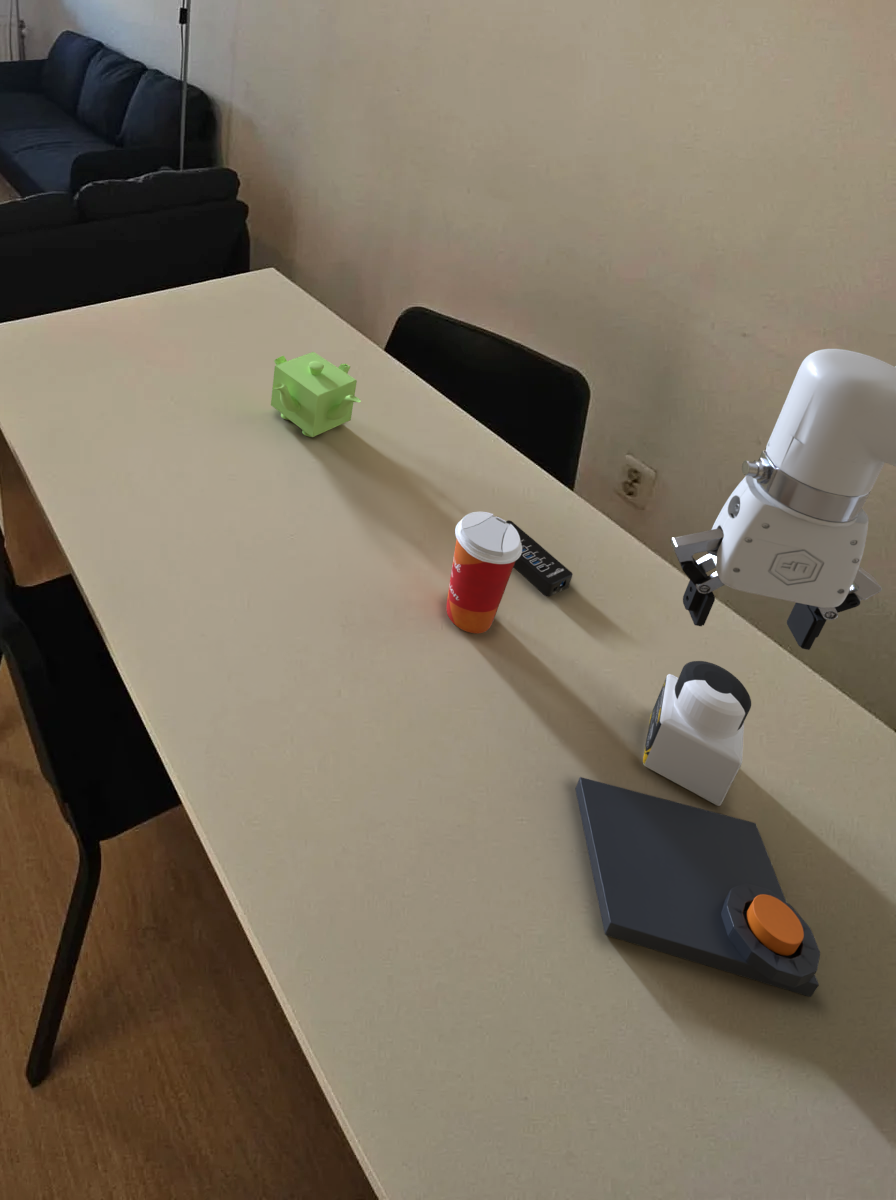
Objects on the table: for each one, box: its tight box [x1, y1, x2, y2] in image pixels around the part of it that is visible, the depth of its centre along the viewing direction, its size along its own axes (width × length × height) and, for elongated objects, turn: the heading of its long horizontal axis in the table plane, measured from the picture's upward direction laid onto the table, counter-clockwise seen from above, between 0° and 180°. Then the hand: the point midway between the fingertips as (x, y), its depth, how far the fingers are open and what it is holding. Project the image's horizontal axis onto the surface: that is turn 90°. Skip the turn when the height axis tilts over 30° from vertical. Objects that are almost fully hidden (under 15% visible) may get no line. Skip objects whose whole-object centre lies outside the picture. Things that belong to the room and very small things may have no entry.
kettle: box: [270, 351, 362, 438], centre depth 135 cm, size 15×14×11 cm
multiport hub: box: [505, 520, 574, 598], centre depth 108 cm, size 4×11×2 cm, turn 26°
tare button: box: [747, 894, 804, 956], centre depth 67 cm, size 4×4×2 cm
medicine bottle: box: [642, 660, 752, 807], centre depth 82 cm, size 7×7×12 cm
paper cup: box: [445, 511, 522, 634], centre depth 97 cm, size 8×8×14 cm
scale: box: [575, 776, 821, 998], centre depth 72 cm, size 16×14×4 cm
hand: (744, 625), depth 76 cm, fingers open, 8 cm apart
